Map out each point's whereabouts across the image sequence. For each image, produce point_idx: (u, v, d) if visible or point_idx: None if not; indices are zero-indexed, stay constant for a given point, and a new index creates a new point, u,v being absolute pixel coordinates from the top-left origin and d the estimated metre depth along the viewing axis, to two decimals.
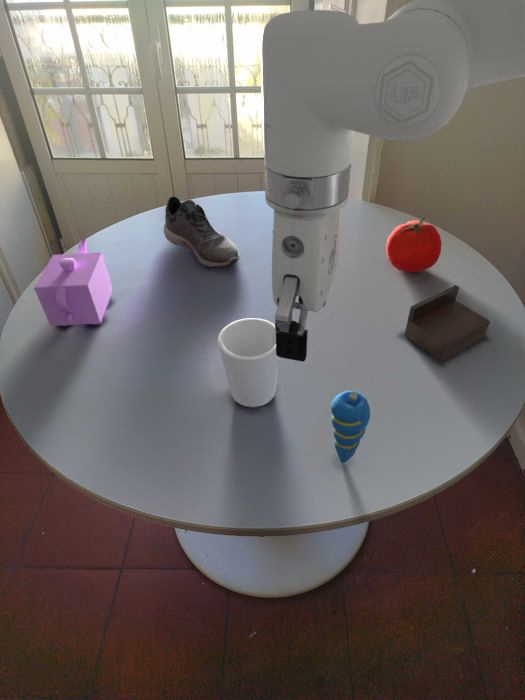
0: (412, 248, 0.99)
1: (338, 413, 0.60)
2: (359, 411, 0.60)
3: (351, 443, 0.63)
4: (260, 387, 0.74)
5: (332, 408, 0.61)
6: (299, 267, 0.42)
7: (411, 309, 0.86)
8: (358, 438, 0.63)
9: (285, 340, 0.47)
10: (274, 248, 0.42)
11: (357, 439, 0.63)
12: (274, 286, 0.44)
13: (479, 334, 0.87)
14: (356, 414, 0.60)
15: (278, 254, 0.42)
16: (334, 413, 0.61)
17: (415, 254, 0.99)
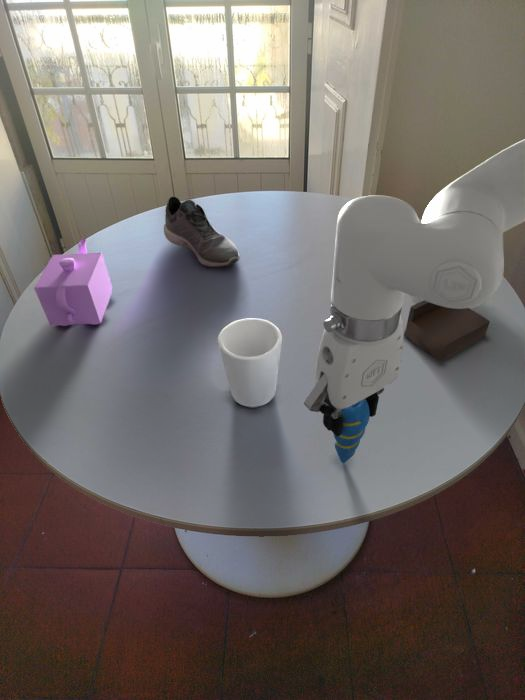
0: None
1: None
2: (359, 411, 0.60)
3: (351, 443, 0.63)
4: (260, 387, 0.74)
5: None
6: (329, 371, 0.53)
7: (411, 309, 0.86)
8: (358, 438, 0.63)
9: (325, 414, 0.60)
10: (319, 349, 0.54)
11: (357, 439, 0.63)
12: None
13: (479, 334, 0.87)
14: (356, 415, 0.60)
15: (320, 355, 0.53)
16: None
17: None
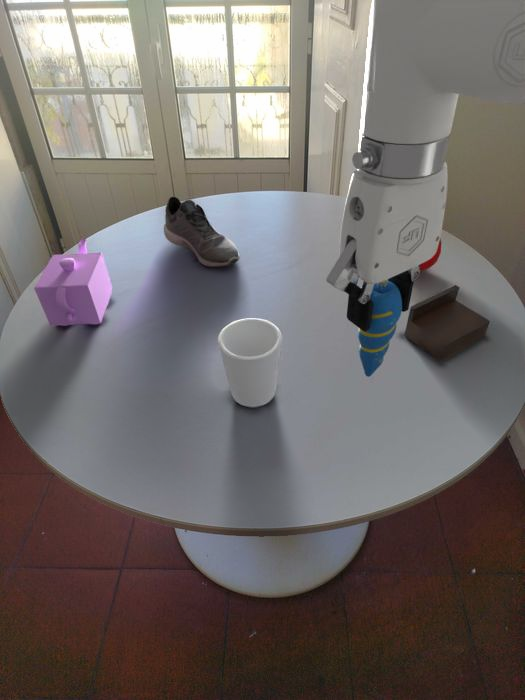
0: None
1: None
2: (390, 298, 0.50)
3: (380, 343, 0.53)
4: (260, 387, 0.74)
5: None
6: (358, 231, 0.43)
7: (411, 309, 0.86)
8: (388, 336, 0.53)
9: (351, 303, 0.50)
10: (345, 206, 0.44)
11: (387, 338, 0.53)
12: (340, 244, 0.46)
13: (479, 334, 0.87)
14: (387, 302, 0.50)
15: (346, 213, 0.44)
16: None
17: None
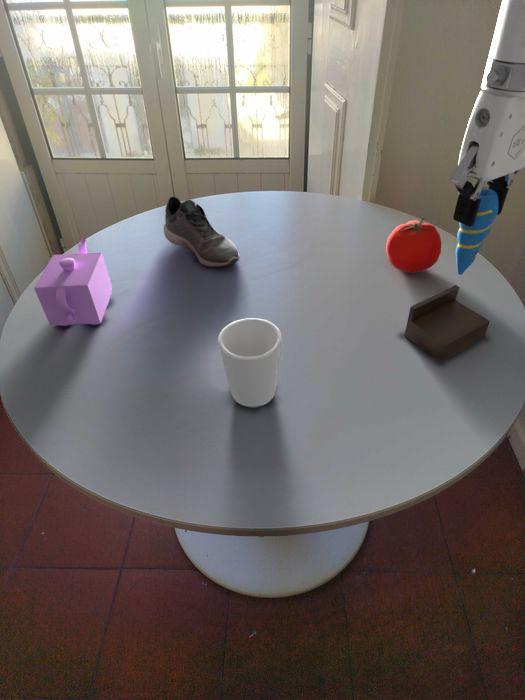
0: (412, 248, 0.99)
1: None
2: (492, 198, 0.65)
3: (478, 239, 0.68)
4: (260, 387, 0.74)
5: None
6: (481, 135, 0.57)
7: (411, 309, 0.86)
8: (485, 233, 0.68)
9: (461, 202, 0.65)
10: (470, 118, 0.58)
11: (484, 234, 0.68)
12: (461, 151, 0.61)
13: (479, 334, 0.87)
14: (489, 201, 0.64)
15: (471, 123, 0.58)
16: None
17: (415, 254, 0.99)
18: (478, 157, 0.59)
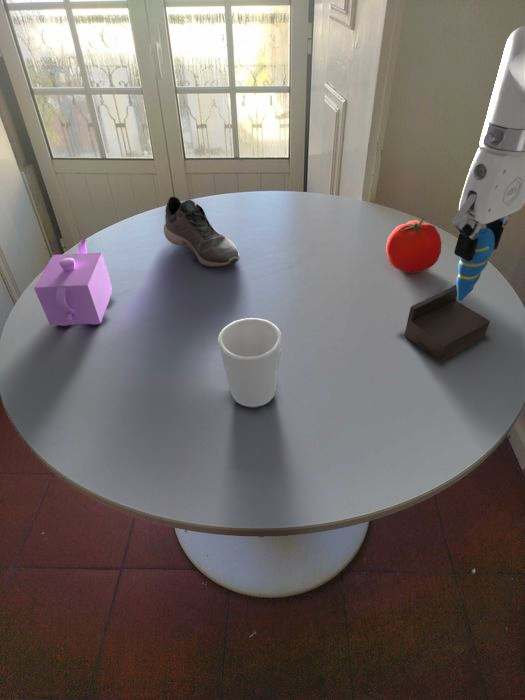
0: (412, 248, 0.99)
1: None
2: (489, 237, 0.73)
3: (476, 271, 0.76)
4: (260, 387, 0.74)
5: None
6: (479, 186, 0.66)
7: (411, 309, 0.86)
8: (483, 266, 0.76)
9: (461, 240, 0.73)
10: (470, 171, 0.67)
11: (482, 267, 0.76)
12: (461, 197, 0.69)
13: (479, 334, 0.87)
14: (486, 239, 0.73)
15: (470, 175, 0.66)
16: None
17: (415, 254, 0.99)
18: (476, 204, 0.67)
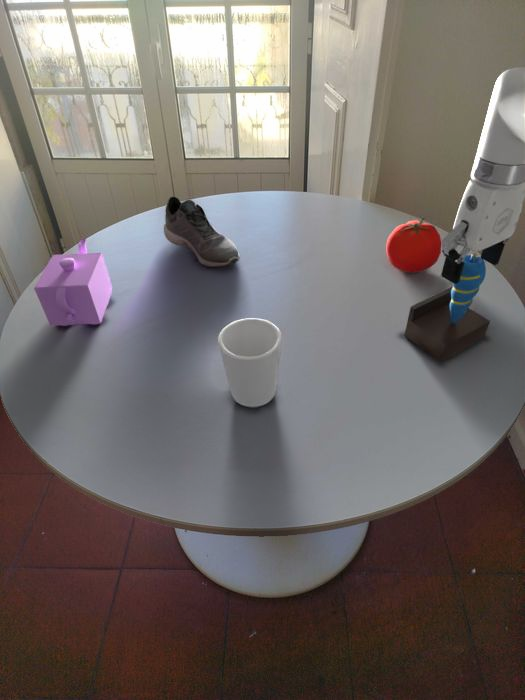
0: (412, 248, 0.99)
1: (463, 268, 0.77)
2: (480, 266, 0.76)
3: (468, 298, 0.80)
4: (260, 387, 0.74)
5: None
6: (471, 217, 0.69)
7: (411, 309, 0.86)
8: (475, 293, 0.79)
9: (448, 264, 0.75)
10: (462, 201, 0.70)
11: (474, 294, 0.79)
12: (454, 226, 0.72)
13: (479, 334, 0.87)
14: (478, 268, 0.76)
15: (462, 205, 0.69)
16: None
17: (415, 254, 0.99)
18: (468, 233, 0.70)
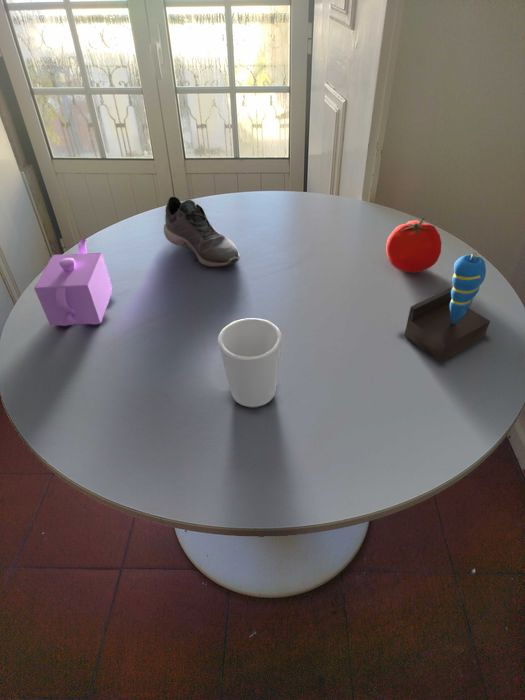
0: (412, 248, 0.99)
1: (463, 268, 0.77)
2: (480, 266, 0.76)
3: (468, 298, 0.80)
4: (260, 387, 0.74)
5: (456, 266, 0.78)
6: None
7: (411, 309, 0.86)
8: (475, 293, 0.79)
9: None
10: None
11: (474, 294, 0.79)
12: None
13: (479, 334, 0.87)
14: (478, 268, 0.76)
15: None
16: (458, 270, 0.77)
17: (415, 254, 0.99)
18: None
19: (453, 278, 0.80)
